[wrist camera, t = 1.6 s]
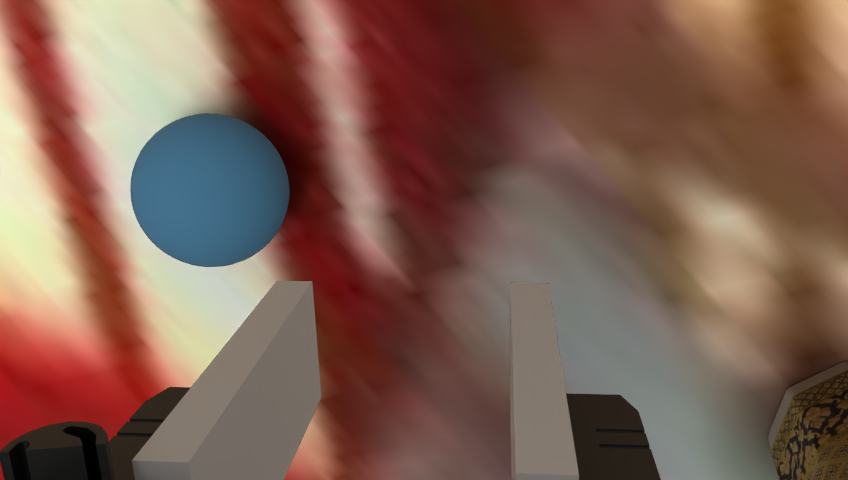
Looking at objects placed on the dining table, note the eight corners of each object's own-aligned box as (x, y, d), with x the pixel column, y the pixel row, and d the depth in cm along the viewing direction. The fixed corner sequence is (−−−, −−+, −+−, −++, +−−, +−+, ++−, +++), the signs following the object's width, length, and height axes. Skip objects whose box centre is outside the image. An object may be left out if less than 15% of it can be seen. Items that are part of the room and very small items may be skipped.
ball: (310, 240, 33) (270, 290, 28) (179, 240, 34) (114, 288, 28) (300, 102, 31) (255, 125, 26) (161, 105, 32) (87, 127, 26)
